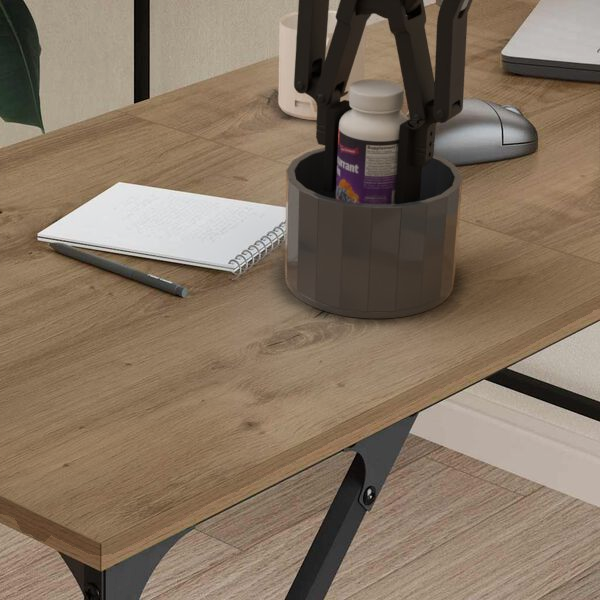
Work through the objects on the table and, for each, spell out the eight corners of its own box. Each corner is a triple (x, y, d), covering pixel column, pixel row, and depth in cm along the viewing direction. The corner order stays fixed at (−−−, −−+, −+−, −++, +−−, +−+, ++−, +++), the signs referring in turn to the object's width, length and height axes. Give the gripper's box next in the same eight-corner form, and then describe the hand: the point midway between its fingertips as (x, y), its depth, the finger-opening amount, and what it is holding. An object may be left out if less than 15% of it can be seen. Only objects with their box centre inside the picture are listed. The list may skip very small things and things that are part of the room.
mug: (291, 90, 147) (292, 7, 143) (370, 98, 145) (374, 14, 141) (259, 125, 137) (260, 36, 133) (345, 134, 135) (349, 44, 131)
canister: (406, 335, 97) (413, 221, 93) (253, 290, 103) (253, 182, 99) (480, 269, 107) (489, 164, 103) (337, 232, 113) (341, 132, 109)
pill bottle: (326, 198, 104) (331, 77, 99) (392, 193, 105) (399, 74, 101) (347, 226, 99) (352, 100, 95) (415, 220, 100) (424, 96, 96)
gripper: (535, -113, 90) (502, 205, 100) (301, -141, 98) (293, 156, 109) (490, -98, 84) (460, 239, 94) (245, -129, 92) (242, 184, 103)
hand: (371, 194), depth 102 cm, fingers closed on pill bottle, 5 cm apart
